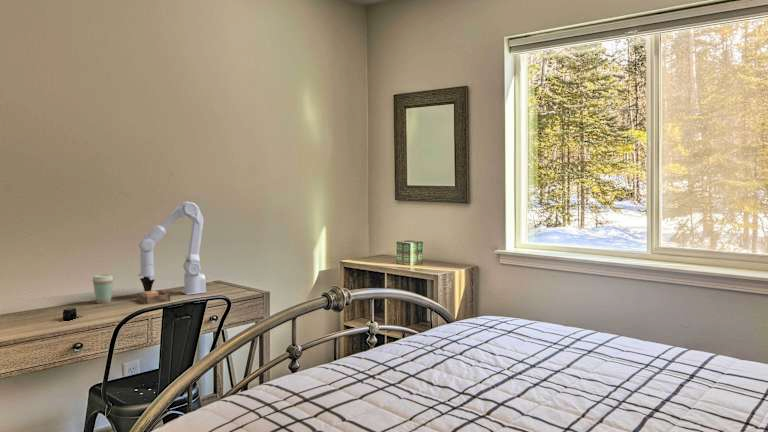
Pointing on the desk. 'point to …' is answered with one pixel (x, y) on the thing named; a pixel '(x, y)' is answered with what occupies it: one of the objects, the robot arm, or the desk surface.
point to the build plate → (69, 314)
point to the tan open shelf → (154, 298)
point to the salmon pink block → (150, 293)
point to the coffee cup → (103, 288)
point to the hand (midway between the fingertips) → (147, 293)
